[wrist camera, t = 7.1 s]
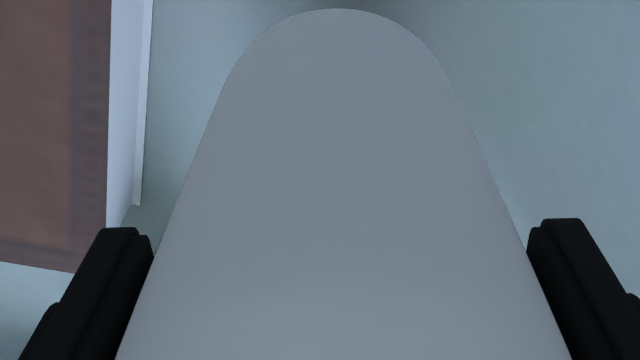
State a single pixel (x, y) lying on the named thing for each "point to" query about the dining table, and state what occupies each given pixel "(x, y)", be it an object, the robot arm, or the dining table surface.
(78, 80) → the book
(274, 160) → the can
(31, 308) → the dining table surface
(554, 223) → the robot arm
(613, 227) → the dining table surface
